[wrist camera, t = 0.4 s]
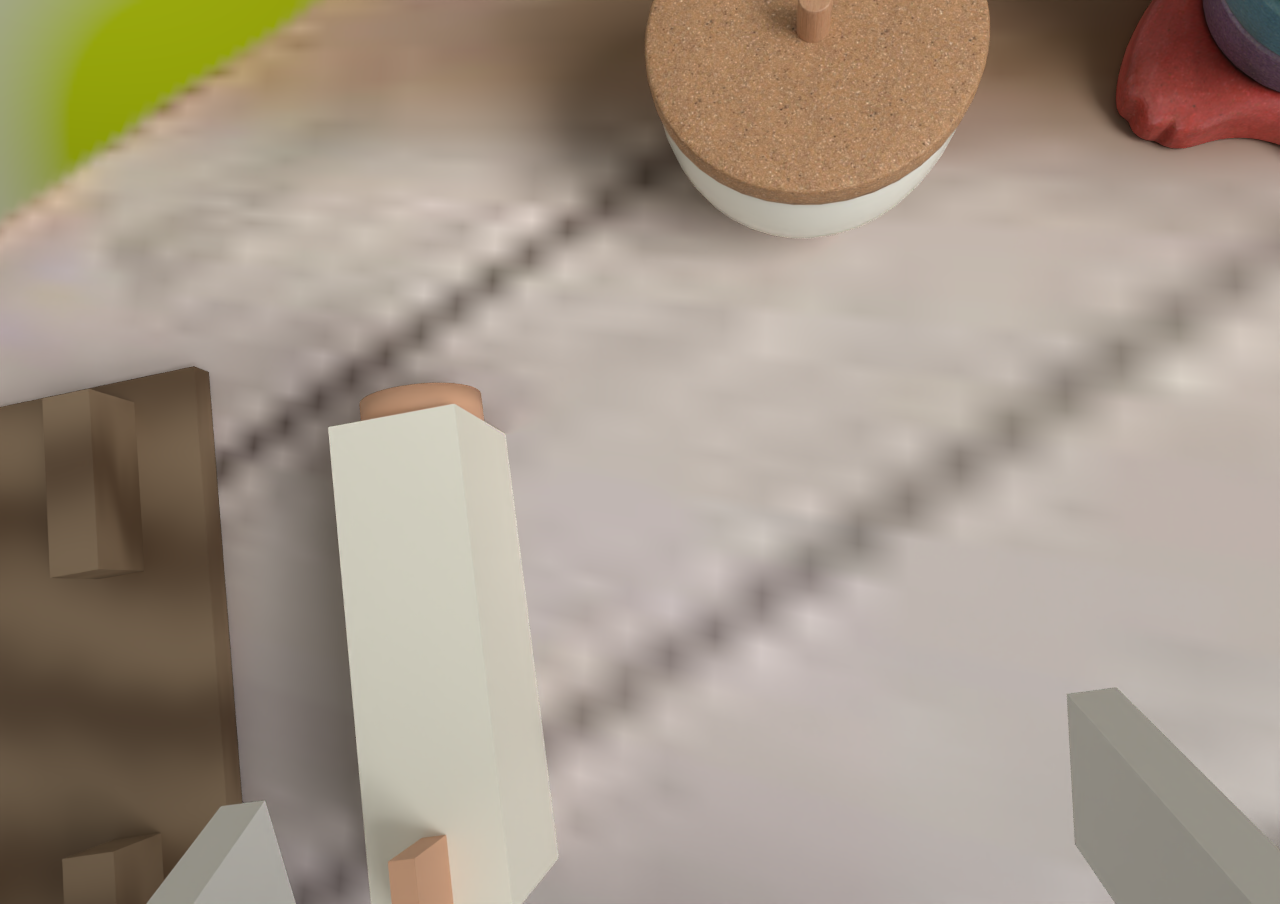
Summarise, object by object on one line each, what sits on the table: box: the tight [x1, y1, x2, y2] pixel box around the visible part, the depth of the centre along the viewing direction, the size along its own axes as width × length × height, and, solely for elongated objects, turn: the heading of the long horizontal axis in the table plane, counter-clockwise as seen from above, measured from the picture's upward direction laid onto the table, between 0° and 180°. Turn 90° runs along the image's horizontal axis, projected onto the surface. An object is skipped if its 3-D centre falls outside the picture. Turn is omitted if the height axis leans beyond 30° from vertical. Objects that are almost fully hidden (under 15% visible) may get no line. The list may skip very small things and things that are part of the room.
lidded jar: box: [644, 0, 990, 238], centre depth 31 cm, size 11×11×9 cm
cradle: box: [0, 366, 242, 904], centre depth 34 cm, size 26×16×4 cm, turn 9°
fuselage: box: [328, 383, 559, 904], centre depth 30 cm, size 17×4×8 cm, turn 8°
